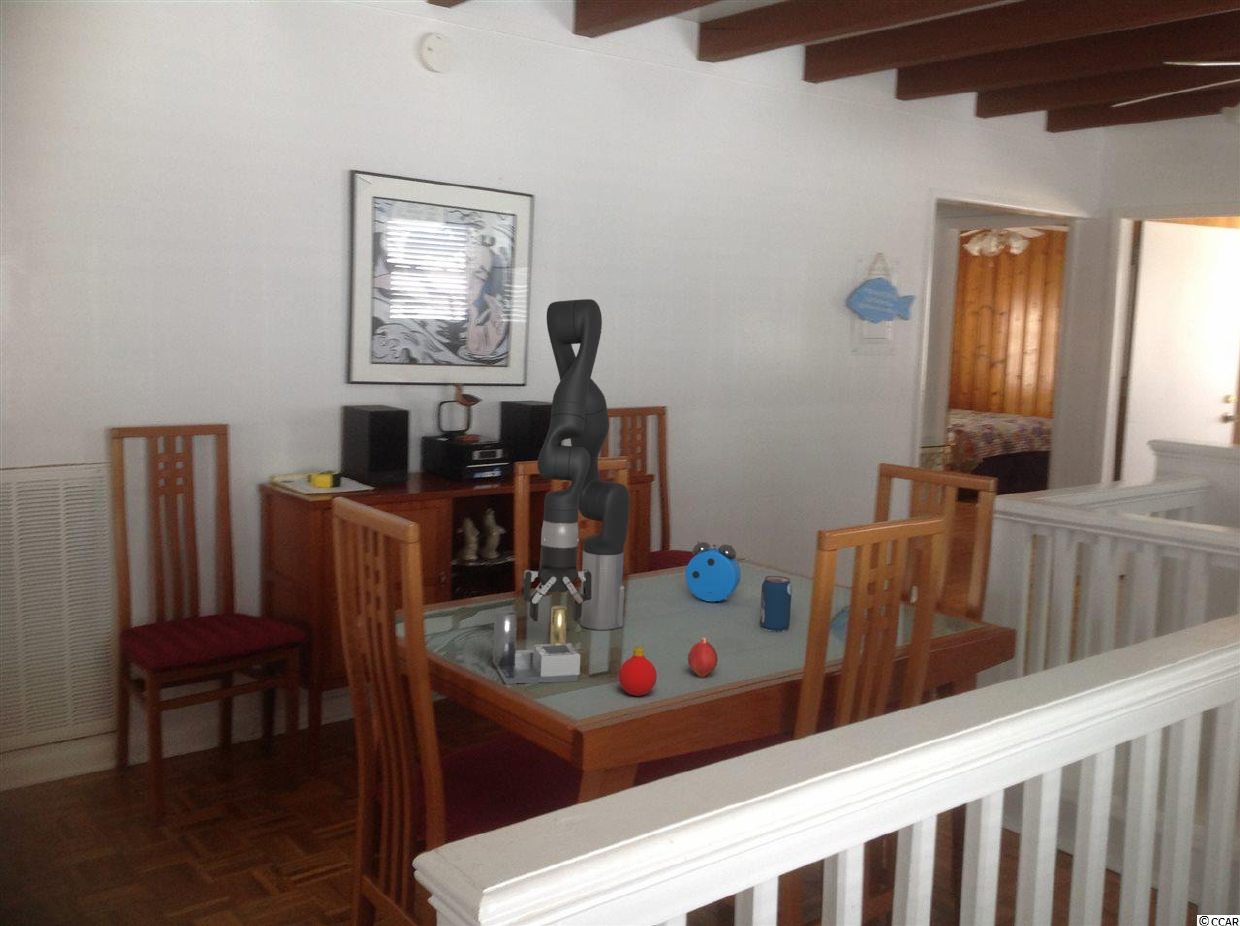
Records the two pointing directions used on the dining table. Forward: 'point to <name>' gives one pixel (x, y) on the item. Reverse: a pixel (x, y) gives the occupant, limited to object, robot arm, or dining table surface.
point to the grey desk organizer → (531, 656)
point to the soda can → (775, 603)
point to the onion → (702, 658)
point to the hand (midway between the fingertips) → (555, 620)
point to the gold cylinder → (558, 625)
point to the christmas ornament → (637, 674)
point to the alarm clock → (713, 572)
